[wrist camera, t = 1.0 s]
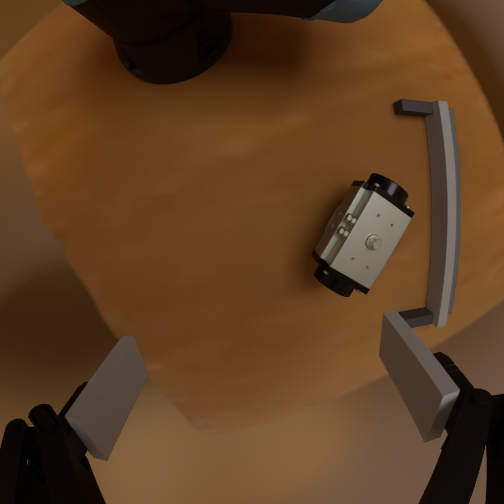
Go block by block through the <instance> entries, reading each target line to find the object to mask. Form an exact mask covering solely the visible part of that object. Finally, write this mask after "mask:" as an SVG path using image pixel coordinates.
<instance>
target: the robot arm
mask: <svg viewBox="0 0 504 504" xmlns="http://www.w3.org/2000/svg"><path fill="white" fill-rule="evenodd" d="M63 1H64V3H65V4H66V5H68V6H71V7H72V8H73V9H75V10H76V11H77V12H79V13H80V14H82V15H83V16H84V17H86V18H87V19H88V20H90V21H91V22H92V23H94V24H95V25H96V26H97V27H99V28H100V29H101V30H103V31H104V32H105V33H106V34H108V35H109V36H110V37H112V38H113V41H114V44H115V48H116V51H117V54H118V57H119V59H120V61H121V63H122V64H123V65H124V67H125V68H126V69H127V70H129V71H130V72H131V73H132V74H134V75H135V76H137V77H138V78H140V79H142V80H144V81H147V82H151V83H158V84H169V83H176V82H180V81H184V80H187V79H190V78H192V77H194V76H196V75H198V74H200V73H202V72H204V71H205V70H207V69H208V68H209V67H211V66H212V65H213V64H214V63H215V62H216V61H217V60H218V59H219V58H220V57H221V56H222V55H223V53H224V52H225V50H226V49H227V47H228V45H229V43H230V40H231V36H232V29H233V27H232V19H231V15H230V12H239V13H260V14H273V15H284V16H292V17H300V18H301V19H302V20H315V19H318V20H326V21H333V22H339V23H353V22H356V21H358V20H360V19H363V18H365V17H367V16H368V15H369V14H371V13H372V12H373V11H374V10H375V9H376V8H377V7H378V6H379V4H380V3H381V2H382V0H63ZM379 357H380V358H381V360H382V362H383V364H384V365H385V367H386V369H387V371H388V373H389V375H390V376H391V378H392V380H393V382H394V384H395V386H396V388H397V389H398V391H399V393H400V395H401V397H402V399H403V401H404V402H405V405H406V407H407V408H408V410H409V412H410V414H411V416H412V418H413V420H414V422H415V424H416V426H417V428H418V430H419V432H420V434H421V436H422V438H423V440H424V442H428V441H431V440H433V439H436V438H439V437H440V436H441V434H442V432H443V430H444V428H445V430H446V431H447V433H448V436H447V438H446V440H445V442H444V444H443V445H442V447H441V449H442V451H441V454H440V456H439V459H438V462H437V464H436V466H435V469H434V471H433V474H432V476H431V478H430V480H429V483H428V485H427V487H426V489H425V491H424V493H423V495H422V498H421V500H420V502H419V504H469V501H470V498H471V496H472V493H473V490H474V487H475V483H476V480H477V477H478V473H479V470H480V466H481V462H482V458H483V454H484V450H485V445H486V454H487V483H486V484H487V485H486V502H485V504H504V394H500V395H491V394H490V393H489V392H488V391H486V390H483V389H475V388H474V387H473V386H472V384H471V383H470V382H469V381H468V380H467V378H466V377H465V376H464V374H463V373H462V372H461V371H460V370H459V368H458V367H457V366H456V365H454V362H453V361H452V360H451V359H450V358H449V357H448V356H447V355H445V354H443V353H441V352H438V353H435V354H432V353H431V352H430V350H429V349H428V348H427V347H426V345H425V344H424V343H423V342H422V341H421V339H420V338H419V337H418V336H417V334H416V333H415V332H414V331H413V330H412V328H411V327H410V326H409V325H408V324H407V322H406V321H405V320H404V319H403V318H402V317H401V315H400V314H399V313H398V312H397V311H396V310H394V311H389V312H383V319H382V331H381V342H380V351H379ZM148 376H149V375H148V372H147V370H146V367H145V364H144V361H143V359H142V356H141V353H140V350H139V347H138V344H137V341H136V339H135V336H122V337H121V339H120V340H119V341H118V343H117V344H116V345H115V347H114V348H113V349H112V351H111V352H110V353H109V355H108V356H107V357H106V359H105V360H104V362H103V363H102V364H101V366H100V367H99V368H98V370H97V371H96V372H95V374H94V375H93V377H92V378H91V379H90V381H89V382H84V383H83V384H82V385H80V386H79V387H78V388H77V389H76V391H75V392H74V394H73V395H72V396H71V398H70V400H69V401H68V402H67V403H66V405H65V406H64V407H63V409H62V410H61V412H60V413H59V414H58V416H57V415H56V413H55V412H54V410H53V409H52V407H51V406H50V405H49V404H40V405H38V406H35V407H34V408H33V409H32V410H31V411H30V413H29V416H28V418H29V419H30V421H31V422H32V423H33V425H34V426H35V427H28V425H27V424H26V422H25V421H24V420H22V419H14V420H12V421H10V422H9V423H8V424H7V426H6V428H5V432H4V436H3V440H2V444H1V448H0V504H106V503H105V501H104V498H103V496H102V494H101V492H100V489H99V487H98V484H97V482H96V479H95V477H94V475H93V472H92V469H91V467H90V464H89V461H88V459H87V457H86V456H85V454H86V452H87V450H88V451H89V452H90V454H91V455H92V456H93V457H94V458H97V459H101V460H106V461H107V460H108V458H109V456H110V454H111V452H112V450H113V447H114V445H115V443H116V441H117V439H118V437H119V435H120V433H121V430H122V428H123V426H124V424H125V422H126V420H127V418H128V416H129V414H130V411H131V410H132V408H133V405H134V404H135V402H136V399H137V398H138V396H139V394H140V391H141V389H142V387H143V385H144V383H145V381H146V379H147V377H148ZM27 460H28V465H27Z"/></svg>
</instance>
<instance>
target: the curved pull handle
mask: <svg viewBox="0 0 504 504" xmlns="http://www.w3.org/2000/svg"><path fill="white" fill-rule="evenodd" d="M393 104H394V110H395V114H402V115H414V116H424V117H425V122H426V130H427V138H428V147H429V158H430V172H431V193H432V239H431V260H430V274H429V285H428V295H427V303H426V307H424V308H419V309H414V310H408V311H402V312H399V314H400V315H401V317H402V318H403V319H404V320H405V321H406V322H407V324H408V325H409V326H410V327H411V328H413V327H418V326H423V325H428V324H433V325H435V326H436V327H437V328H440V327H444V326H445V325H446V320H447V315H448V314H452V309H453V302H454V296H455V288H456V280H457V271H458V260H459V247H460V225H461V189H460V168H459V155H458V144H457V135H456V127H455V120H454V113H453V108H448V104H447V102H445V101H439V100H438V101H435V102H424V101H416V100H407V99H401V100H399V101H397V102H395V103H393Z"/></svg>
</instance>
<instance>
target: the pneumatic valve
mask: <svg viewBox="0 0 504 504" xmlns="http://www.w3.org/2000/svg"><path fill="white" fill-rule="evenodd" d="M407 198H408V194H407V192H406V191H405V190H404V189H403V188H402V187H400V186H399V185H398V184H396V183H395V182H393V181H392V180H390V179H388V178H386V177H384V176H382V175H379V174H376V173H372V174H371V175H370V177H369V179H368V181H367V183H366V182H364V181H353V183H352V185H351V187H350V189H349V190H348V192H347V194H346V196H345V198H344V199H343V201H342V203H341V204H340V205H339V206H337V207H336V209H335V210H334V212H333V214H332V216H331V217H330V219H329V221H328V223H327V224H326V226H325V231H324V234H323V236H322V237H321V239H320V241H319V242H318V244H317V246H316V247H315V249H314V251H313V252H312V254H311V255H312V256H313V258H314V259H315V261H316V262H317V263H318V264H319V265H318V267H317V269H316V270H315V272H314V276H315V278H316V279H317V280H318V281H319V282H321V283H322V284H323V285H324V286H326V287H327V288H329V289H330V290H332V291H334V292H335V293H337V294H339V295H341V296H344V297H349V296H350V295H351V293H352V292H353V290H354V289H355V288H356V289H355V290H356V291H357V292H359V293H360V292H363V293H364V294H367V293H368V291H369V290H370V288H371V287H372V285H373V283H374V282H375V280H376V279H377V277H378V276H379V274H380V272H381V271H382V269H383V267H384V266H385V264H386V263H387V261H388V259H389V258H390V256H391V254H392V253H393V251H394V249H395V247H396V246H397V244H398V242H399V240H400V239H401V237H402V235H403V233H404V232H405V230H406V228H407V226H408V224H409V223H410V221H411V219H412V217H413V215H414V212H413V211H411V210H410V207H409V206H407V205H404V204H405V202H406V200H407Z"/></svg>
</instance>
